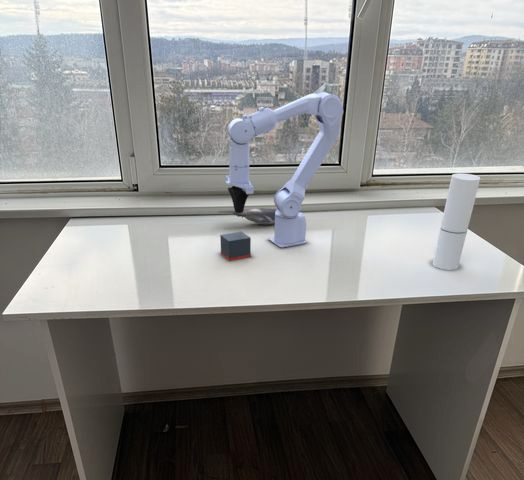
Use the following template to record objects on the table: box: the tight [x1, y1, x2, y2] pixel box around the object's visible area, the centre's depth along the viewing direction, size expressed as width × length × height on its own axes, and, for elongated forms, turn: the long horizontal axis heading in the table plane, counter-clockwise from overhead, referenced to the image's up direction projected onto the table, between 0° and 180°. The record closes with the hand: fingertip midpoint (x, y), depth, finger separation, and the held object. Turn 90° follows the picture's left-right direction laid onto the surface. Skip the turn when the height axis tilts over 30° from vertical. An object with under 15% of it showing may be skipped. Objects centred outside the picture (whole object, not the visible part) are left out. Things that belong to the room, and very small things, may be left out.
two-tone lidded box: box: [219, 230, 252, 262], centre depth 146 cm, size 7×6×6 cm
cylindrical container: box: [432, 172, 481, 271], centre depth 137 cm, size 7×7×25 cm
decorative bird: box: [218, 207, 277, 225], centre depth 170 cm, size 6×25×5 cm, turn 99°
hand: (239, 212), depth 149 cm, fingers closed
